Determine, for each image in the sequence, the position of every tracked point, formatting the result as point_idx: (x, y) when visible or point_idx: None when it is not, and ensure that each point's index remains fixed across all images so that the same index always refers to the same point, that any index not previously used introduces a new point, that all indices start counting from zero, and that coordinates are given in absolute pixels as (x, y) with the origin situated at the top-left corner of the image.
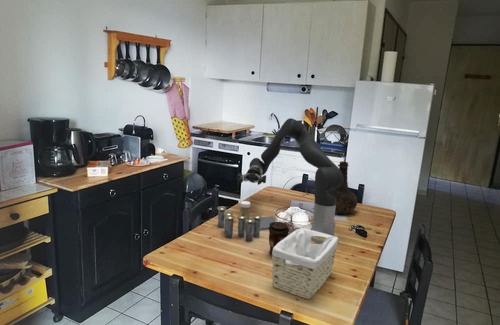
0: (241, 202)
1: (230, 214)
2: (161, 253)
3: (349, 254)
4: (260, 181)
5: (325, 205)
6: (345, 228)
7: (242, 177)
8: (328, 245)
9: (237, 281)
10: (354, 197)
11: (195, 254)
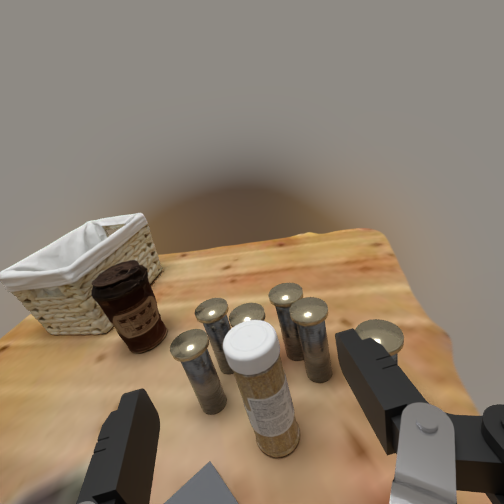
0: (267, 326)
1: (294, 304)
2: (374, 243)
3: None
4: (111, 416)
5: None
6: None
7: (369, 380)
8: (41, 251)
9: (213, 258)
10: None
11: (316, 266)
